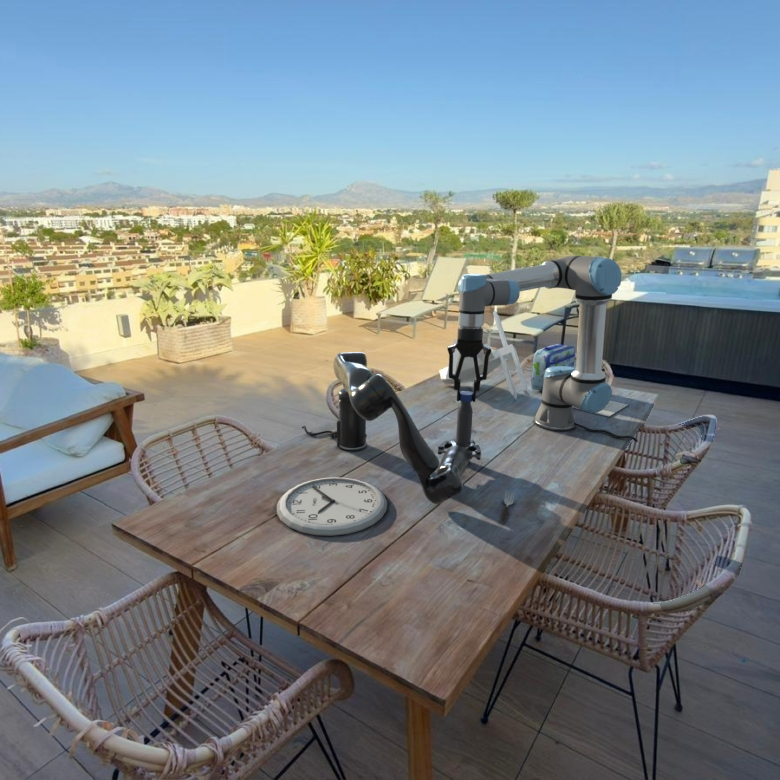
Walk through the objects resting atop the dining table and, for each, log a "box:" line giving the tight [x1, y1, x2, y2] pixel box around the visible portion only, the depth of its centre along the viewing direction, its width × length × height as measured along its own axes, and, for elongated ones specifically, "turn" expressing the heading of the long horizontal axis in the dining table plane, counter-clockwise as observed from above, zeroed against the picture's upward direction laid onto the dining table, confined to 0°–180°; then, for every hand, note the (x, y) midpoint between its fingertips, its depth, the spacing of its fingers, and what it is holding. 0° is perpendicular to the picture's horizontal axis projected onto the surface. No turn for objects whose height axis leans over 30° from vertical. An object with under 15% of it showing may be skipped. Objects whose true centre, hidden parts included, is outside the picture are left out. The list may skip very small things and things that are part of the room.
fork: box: [501, 490, 516, 524], centre depth 141 cm, size 3×16×2 cm, turn 160°
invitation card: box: [573, 400, 629, 418], centre depth 226 cm, size 21×1×15 cm
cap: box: [459, 390, 473, 403], centre depth 164 cm, size 4×4×2 cm
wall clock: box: [276, 476, 388, 537], centre depth 142 cm, size 30×2×30 cm
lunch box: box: [530, 343, 576, 392], centre depth 248 cm, size 26×11×21 cm, turn 134°
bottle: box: [455, 401, 474, 465], centre depth 167 cm, size 5×5×23 cm
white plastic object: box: [438, 310, 531, 400], centre depth 245 cm, size 37×45×31 cm
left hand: (464, 441), depth 171 cm, fingers closed on bottle, 4 cm apart
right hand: (465, 400), depth 164 cm, fingers closed on cap, 4 cm apart
